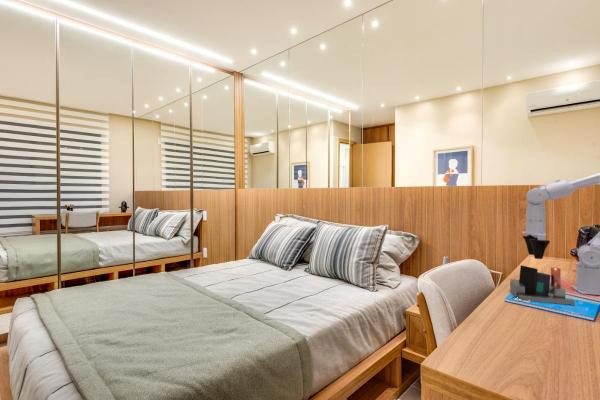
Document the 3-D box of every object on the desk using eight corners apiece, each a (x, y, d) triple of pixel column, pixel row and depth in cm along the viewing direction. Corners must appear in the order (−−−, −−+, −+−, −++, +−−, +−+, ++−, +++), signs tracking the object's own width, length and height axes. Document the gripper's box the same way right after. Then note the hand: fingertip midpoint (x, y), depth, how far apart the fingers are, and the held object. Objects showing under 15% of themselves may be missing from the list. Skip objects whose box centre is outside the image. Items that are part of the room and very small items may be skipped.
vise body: (559, 293, 103) (559, 281, 103) (574, 305, 92) (574, 292, 92) (508, 288, 109) (508, 277, 109) (517, 299, 98) (517, 287, 98)
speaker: (529, 300, 97) (531, 268, 98) (517, 295, 103) (519, 265, 103) (553, 303, 97) (555, 270, 97) (540, 297, 103) (542, 267, 103)
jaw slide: (556, 294, 102) (555, 265, 101) (565, 302, 94) (565, 271, 94) (546, 293, 103) (546, 265, 102) (555, 301, 95) (554, 270, 95)
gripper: (517, 218, 121) (517, 252, 121) (528, 222, 108) (527, 259, 108) (539, 218, 118) (539, 253, 118) (553, 222, 105) (552, 261, 105)
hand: (535, 256), depth 113 cm, fingers open, 7 cm apart
